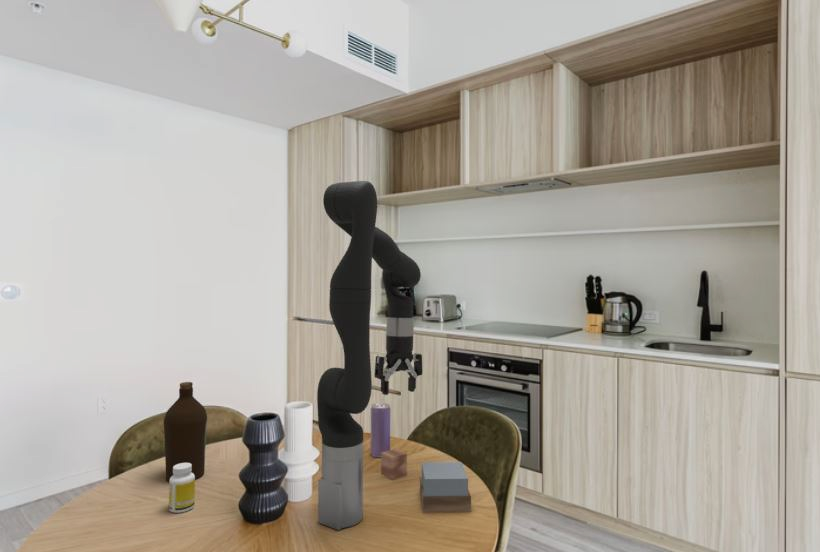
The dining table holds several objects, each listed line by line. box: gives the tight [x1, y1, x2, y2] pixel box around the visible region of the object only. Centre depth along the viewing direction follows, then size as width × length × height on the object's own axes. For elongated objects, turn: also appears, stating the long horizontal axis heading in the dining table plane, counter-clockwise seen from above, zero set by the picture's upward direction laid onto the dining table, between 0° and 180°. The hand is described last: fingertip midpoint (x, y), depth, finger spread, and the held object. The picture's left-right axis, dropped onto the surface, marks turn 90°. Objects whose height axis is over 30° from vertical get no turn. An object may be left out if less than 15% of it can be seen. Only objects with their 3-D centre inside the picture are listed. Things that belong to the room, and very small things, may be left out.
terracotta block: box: [380, 448, 408, 481], centre depth 132 cm, size 5×5×6 cm
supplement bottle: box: [168, 463, 196, 514], centre depth 112 cm, size 5×5×10 cm
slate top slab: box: [421, 461, 469, 497], centre depth 116 cm, size 10×10×4 cm
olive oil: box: [163, 381, 208, 482], centre depth 130 cm, size 11×11×25 cm
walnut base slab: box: [419, 476, 472, 514], centre depth 116 cm, size 11×11×4 cm
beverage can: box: [370, 402, 391, 459], centre depth 147 cm, size 6×6×15 cm
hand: (398, 392), depth 133 cm, fingers open, 8 cm apart
